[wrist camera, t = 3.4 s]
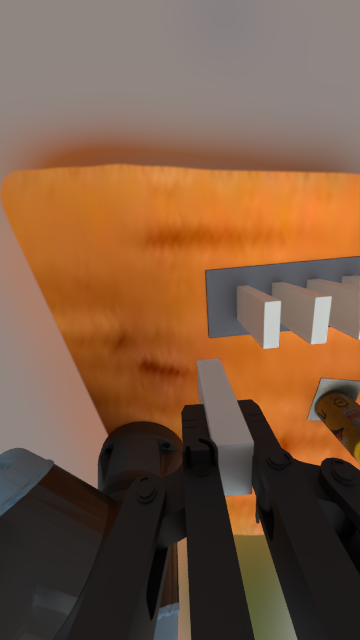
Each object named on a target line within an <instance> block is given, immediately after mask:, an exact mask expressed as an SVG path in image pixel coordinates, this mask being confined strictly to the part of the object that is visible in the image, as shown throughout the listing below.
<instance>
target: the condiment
mask: <svg viewBox="0 0 360 640" xmlns="http://www.w3.org/2000/svg"><path fill="white" fill-rule="evenodd" d="M330 388H331V389H330ZM329 389H330V390H329ZM327 390H328V391H327ZM359 391H360V382H359V381H349V380H339V379H324V378H321V381H320V384H319V388H318V390H317V393H316V396H315V398H314V401H313V404H312V407H311V409H310V413H309V415H308V420H315V421H317V420H318V421H323V423H324V424H325V425H326V426H327V427H328V428H329V430H330V431H331V432H332V433H333V434H334V435H335V436H336V438H337V439H338V440H339V441H340V442H341V443H342V444H343V445H344V447H345V448H346V449H347V450H348V451H349V452H350V454H351V455H352V456H353V457H354V458H355V459H356V460H357V461H358V462H359V463H360V405H359V404H357V403H356V402H355V401H356V400H357V396H358V394H359Z"/></svg>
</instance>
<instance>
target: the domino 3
mask: <svg viewBox="0 0 360 640" xmlns="http://www.w3.org/2000/svg"><path fill="white" fill-rule="evenodd" d="M306 289H309V290H313V291H316V292H320V293H323V294H326V295H330V296H332V299H331V307H330V315H329V323H328V325H329V326H331V327H333V328H335V329H337V330H339V331H341V332H343V333H345V334H347V335H349V336H351V337H353V338H355V339H357V340H360V287H358V286H353V285H348V284H343V283H338V282H333V281H328V280H323V279H309V280H307V288H306Z"/></svg>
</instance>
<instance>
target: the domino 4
mask: <svg viewBox="0 0 360 640" xmlns="http://www.w3.org/2000/svg"><path fill="white" fill-rule="evenodd" d="M342 283H343V284H348V285H353V286H358V287H360V276H355V275H352V276H342Z"/></svg>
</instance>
